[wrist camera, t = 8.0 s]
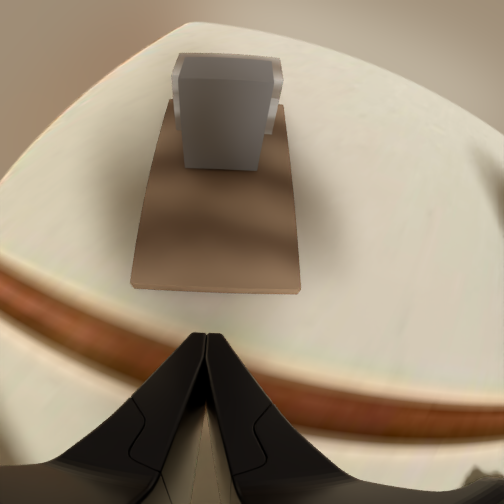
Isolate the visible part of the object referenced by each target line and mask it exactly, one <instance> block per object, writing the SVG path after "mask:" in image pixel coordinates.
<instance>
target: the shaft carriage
mask: <svg viewBox="0 0 504 504" xmlns="http://www.w3.org/2000/svg"><path fill="white" fill-rule="evenodd" d="M273 87H274V77H273V68H272V61H266V60H256V59H243V58H225V57H185V59H184V62H183V65H182V68H181V71H180V74H179V77H178V89H179V104H180V118H181V131H182V142H183V154H184V164H185V168H204V169H228V170H247V171H257V169H258V163H259V158H260V153H261V148H262V143H263V138H264V133H265V127H266V122H267V117H268V112H269V107H270V102H271V97H272V92H273Z"/></svg>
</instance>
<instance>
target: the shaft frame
mask: <svg viewBox="0 0 504 504" xmlns="http://www.w3.org/2000/svg"><path fill="white" fill-rule="evenodd" d="M185 57H225V58H243V59H256V60H266V61H272V68H273V77H274V87H273V92H272V97H271V102H270V107H269V112H268V117H267V122H266V127H265V133H264V138H263V143H262V148H261V153H260V158H259V163H258V169H257V171H247V170H228V169H204V168H185V164H184V154H183V142H182V131H181V118H180V104H179V89H178V77H179V74H180V71H181V68H182V65H183V62H184V59H185ZM171 77H172V91H173V99H169V103H168V106H167V109H166V113H165V116H164V120H163V123H162V127H161V131H160V134H159V138H158V142H157V146H156V150H155V154H154V158H153V162H152V166H151V170H150V175H149V179H148V184H147V188H146V193H145V198H144V203H143V208H142V213H141V218H140V223H139V229H138V235H137V240H136V246H135V253H134V259H133V266H132V273H131V280H130V283H131V285H132V286H133V287H134V288H137V289H154V290H172V291H193V292H219V293H251V294H298V292H299V291H300V290H301V282H300V267H299V254H298V241H297V229H296V217H295V206H294V195H293V185H292V175H291V166H290V157H289V148H288V139H287V131H286V122H285V115H284V107H283V105H280V104H278V103H279V99H280V94H281V90H282V85H283V81H284V80H283V74H282V68H281V62H280V58H274V57H264V56H254V55H240V54H221V53H179V56H178V58H177V61H176V64H175V66H174V69H173V72H172V75H171Z"/></svg>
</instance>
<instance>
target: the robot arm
mask: <svg viewBox="0 0 504 504" xmlns="http://www.w3.org/2000/svg"><path fill="white" fill-rule="evenodd" d="M205 407H206V408H207V417H208V425H209V432H210V439H211V446H212V452H213V459H214V465H215V471H216V477H217V483H218V489H219V494H220V500H221V504H504V478H500V477H491V476H485V477H482V478H480V479H478V480H476V481H474V482H472V483H471V484H469V485H467V486H465V487H462V488H459V489H456V490H451V491H442V492H435V491H423V490H414V489H407V488H400V487H394V486H388V485H382V484H377V483H372V482H367V481H363V480H359V479H357V478H354V477H352V476H351V475H349V474H347V473H345V472H344V471H342V470H341V469H340V468H339V467H337V466H336V465H335V464H334V463H333V462H331V461H330V460H329V459H328V458H327V457H326V456H324V455H323V454H322V453H321V452H320V451H319V450H318V449H316V448H315V447H314V446H313V445H312V444H311V443H310V442H309V441H307V440H306V439H305V438H304V437H303V436H302V435H301V434H300V433H299V432H298V431H297V430H296V429H295V428H294V427H293V426H292V425H291V424H290V423H289V422H288V421H287V419H286V418H285V417H284V416H283V415H282V414H281V412H280V411H279V410H278V408H277V407H276V406H275V405H274V404H273V403H272V401H271V400H270V398H269V397H268V396H267V395H266V393H265V392H264V391H263V389H262V388H261V387H260V385H259V384H258V383H257V381H256V380H255V379H254V377H253V376H252V375H251V373H250V372H249V371H248V369H247V368H246V367H245V365H244V364H243V363H242V361H241V360H240V359H239V357H238V356H237V354H236V353H235V352H234V350H233V349H232V348H231V346H230V345H229V343H228V342H227V341H226V339H225V338H224V336H223V335H222V334H220V333H208V334H207V335H206V333H195V332H193V333H191V334H190V335H189V336H188V337H187V338H186V339H185V341H184V342H183V343H182V344H181V345H180V346H179V347H178V348H177V349H176V350H175V351H174V352H173V353H172V354H171V355H170V356H169V357H168V358H167V359H166V360H165V361H164V362H163V364H162V365H161V366H160V367H159V368H158V369H157V370H156V371H155V372H154V373H153V374H152V375H151V376H150V377H149V378H148V379H147V380H146V381H145V382H144V383H143V384H142V385H141V386H140V387H139V388H138V389H137V390H136V392H135V393H134V394H133V395H132V396H131V398H129V399H128V400H127V401H126V402H125V403H124V404H123V405H122V406H121V407H120V408H119V409H118V410H117V411H115V412H114V413H113V414H112V415H111V416H110V417H109V418H108V419H107V420H105V421H104V422H103V423H102V424H101V425H99V426H98V427H97V428H96V429H94V430H93V431H92V432H91V433H89V434H88V435H87V436H85V437H84V438H83V439H81V440H80V441H79V442H77V443H76V444H75V445H73V446H72V447H71V448H69V449H68V450H67V451H65V452H64V453H63V454H61V455H60V456H58V457H56V458H54V459H52V460H50V461H47V462H44V463H39V464H27V465H4V466H0V504H190V503H191V497H192V490H193V483H194V477H195V470H196V464H197V457H198V451H199V445H200V439H201V432H202V426H203V420H204V414H205Z"/></svg>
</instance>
